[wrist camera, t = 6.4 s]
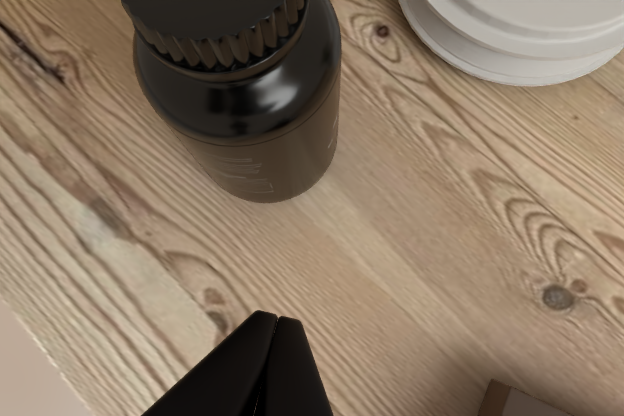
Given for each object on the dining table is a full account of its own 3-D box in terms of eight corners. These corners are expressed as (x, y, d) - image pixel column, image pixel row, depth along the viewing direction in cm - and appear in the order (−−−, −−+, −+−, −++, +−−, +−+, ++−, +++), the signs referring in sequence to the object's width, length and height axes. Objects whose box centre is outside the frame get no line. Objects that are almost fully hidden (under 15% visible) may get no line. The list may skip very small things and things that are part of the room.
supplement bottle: (366, 147, 22) (408, -30, 11) (257, 234, 22) (174, 146, 10) (280, 52, 24) (234, -199, 12) (174, 130, 23) (15, -55, 11)
